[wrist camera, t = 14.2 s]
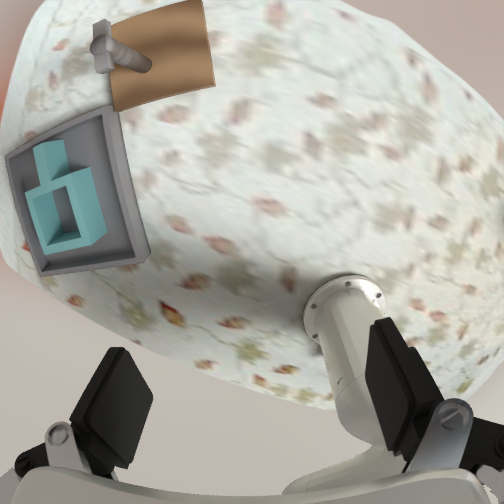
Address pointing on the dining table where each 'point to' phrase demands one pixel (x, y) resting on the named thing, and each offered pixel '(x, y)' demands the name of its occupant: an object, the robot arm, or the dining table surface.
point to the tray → (107, 188)
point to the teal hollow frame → (81, 197)
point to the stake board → (154, 54)
